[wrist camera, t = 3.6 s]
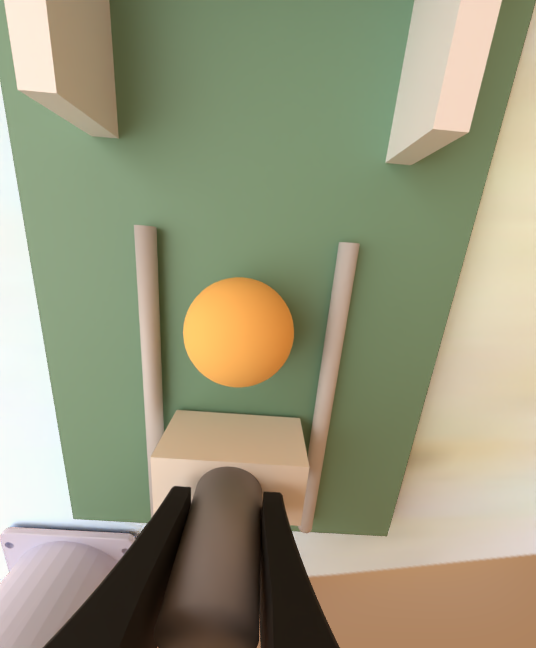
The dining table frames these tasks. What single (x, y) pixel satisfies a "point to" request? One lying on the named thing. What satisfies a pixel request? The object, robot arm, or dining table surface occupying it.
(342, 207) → the pitch
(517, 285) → the dining table surface
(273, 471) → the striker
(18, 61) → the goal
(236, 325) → the ball
